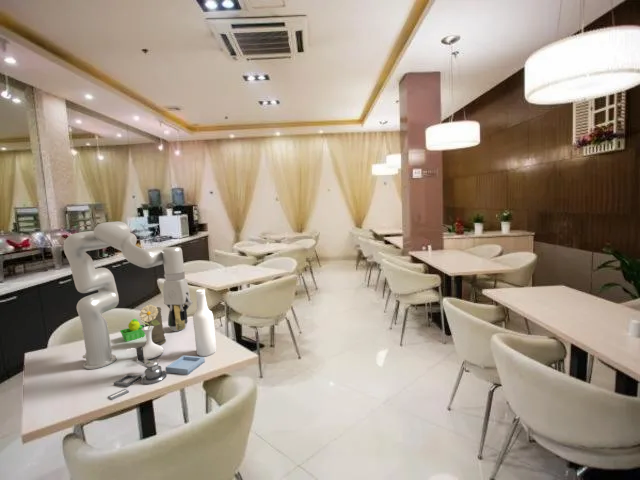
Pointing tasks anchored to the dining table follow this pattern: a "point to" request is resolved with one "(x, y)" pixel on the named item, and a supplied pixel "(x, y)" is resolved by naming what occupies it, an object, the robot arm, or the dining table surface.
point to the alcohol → (204, 326)
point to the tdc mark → (118, 394)
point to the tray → (185, 364)
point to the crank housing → (149, 378)
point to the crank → (145, 360)
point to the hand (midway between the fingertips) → (179, 319)
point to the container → (157, 329)
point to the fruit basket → (133, 331)
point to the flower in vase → (150, 348)
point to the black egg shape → (173, 322)
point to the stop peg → (178, 318)
